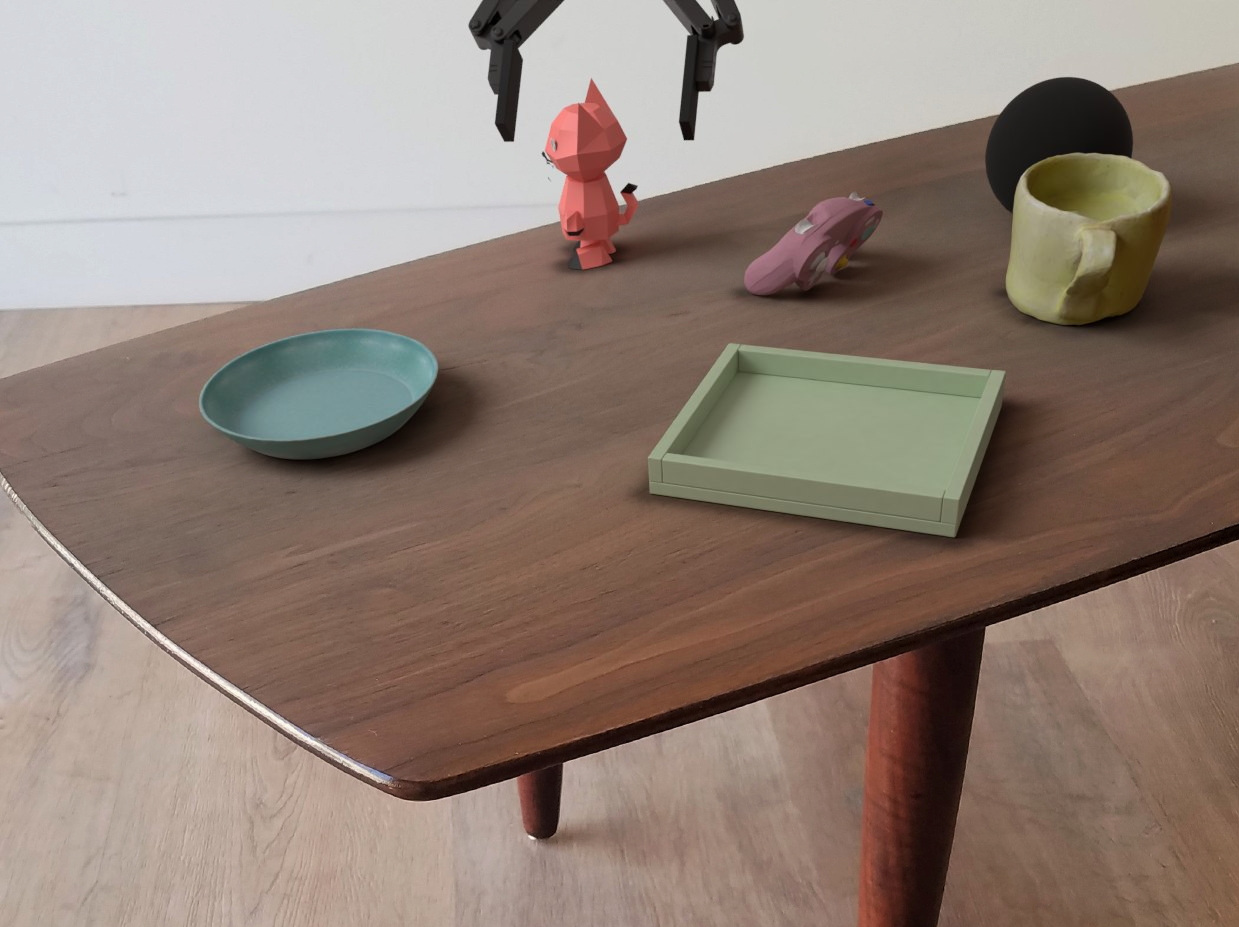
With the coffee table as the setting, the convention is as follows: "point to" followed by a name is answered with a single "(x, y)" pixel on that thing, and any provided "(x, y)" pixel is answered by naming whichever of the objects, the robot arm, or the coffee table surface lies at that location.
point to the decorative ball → (1053, 130)
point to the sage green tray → (832, 437)
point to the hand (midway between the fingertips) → (594, 132)
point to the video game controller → (815, 245)
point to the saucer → (320, 392)
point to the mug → (1085, 236)
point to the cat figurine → (589, 177)
